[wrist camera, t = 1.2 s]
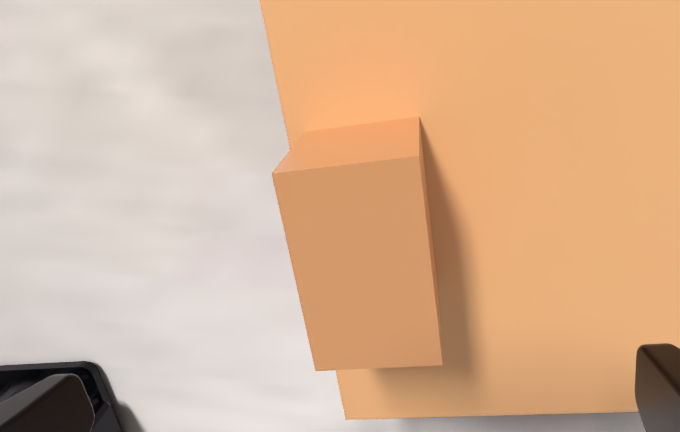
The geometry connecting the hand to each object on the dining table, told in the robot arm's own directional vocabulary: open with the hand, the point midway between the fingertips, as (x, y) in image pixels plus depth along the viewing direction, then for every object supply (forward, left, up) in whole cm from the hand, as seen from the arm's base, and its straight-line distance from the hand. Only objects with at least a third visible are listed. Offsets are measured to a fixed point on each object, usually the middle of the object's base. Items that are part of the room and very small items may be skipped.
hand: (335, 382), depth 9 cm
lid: (+5, 0, -8) cm, 9 cm away
